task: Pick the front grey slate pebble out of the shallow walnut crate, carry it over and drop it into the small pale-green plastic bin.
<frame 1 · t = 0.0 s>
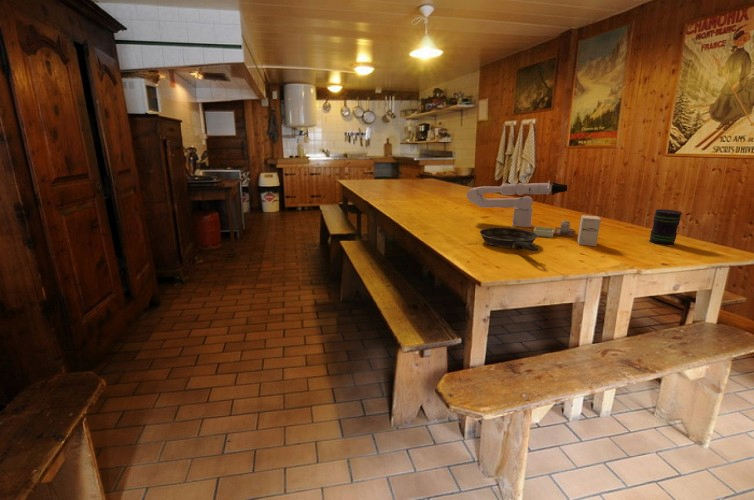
hand: (567, 188, 205), 22 cm above the table, tool horizontal, fingers open, 7 cm apart
storage jar: (661, 243, 186), on the table
bin: (543, 234, 199), on the table
frying pan: (512, 248, 176), on the table
stone back: (564, 230, 207), resting on crate
stone front: (564, 233, 200), resting on crate
supplement box: (586, 244, 183), on the table
stone mid: (564, 231, 204), resting on crate
crate: (564, 232, 204), on the table
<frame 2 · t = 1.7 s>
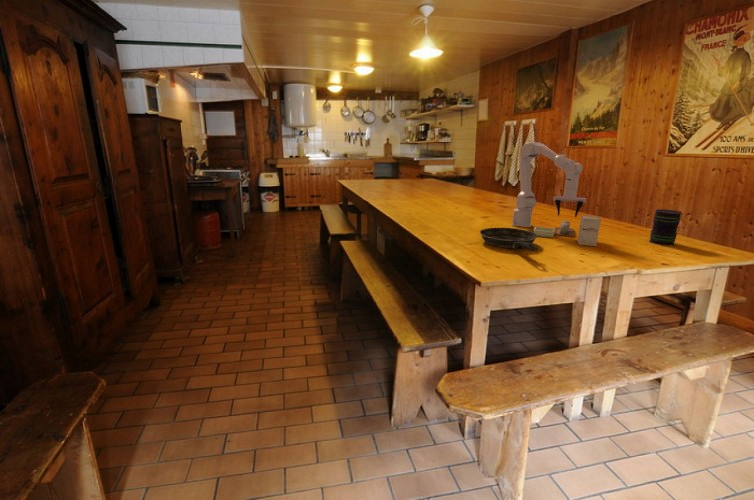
hand: (566, 215, 197), 10 cm above the table, tool pointing down, fingers open, 7 cm apart
nothing on the table moved.
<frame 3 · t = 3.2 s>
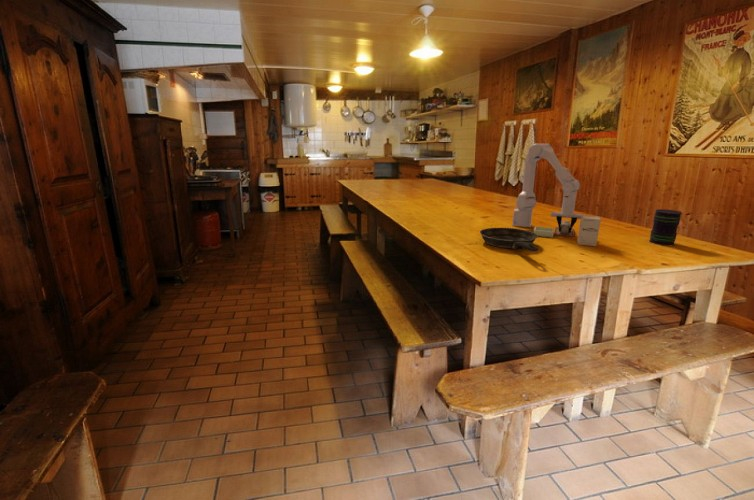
hand: (564, 231, 199), 1 cm above the table, tool pointing down, fingers closed on stone front, 4 cm apart
stone front: (564, 233, 200), resting on crate, touching gripper
everything else where it was.
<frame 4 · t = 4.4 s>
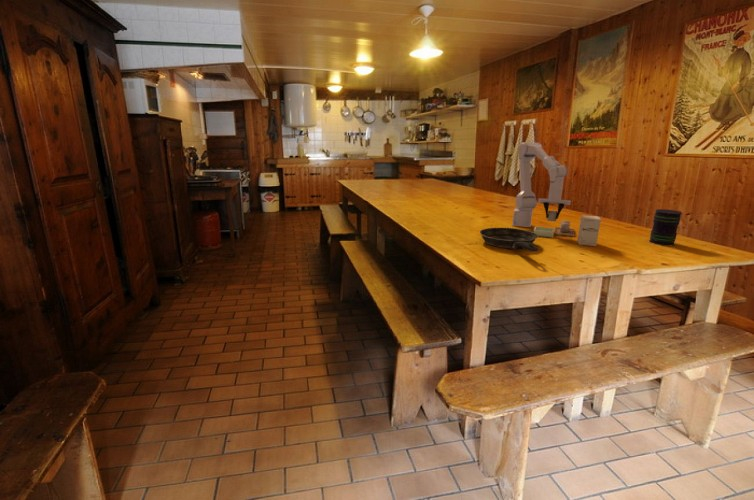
hand: (551, 218, 197), 8 cm above the table, tool pointing down, fingers closed on stone front, 4 cm apart
stone front: (551, 220, 197), point 7 cm above the table, touching gripper
everything else where it was.
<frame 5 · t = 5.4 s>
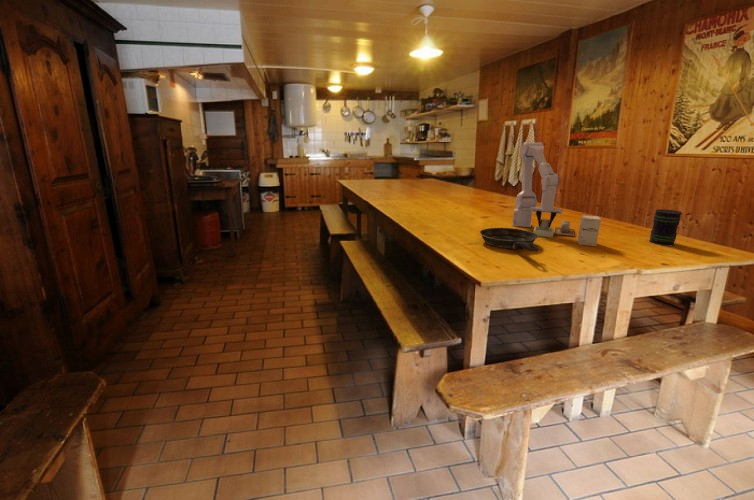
hand: (544, 226, 198), 4 cm above the table, tool pointing down, fingers closed on stone front, 4 cm apart
stone front: (544, 228, 198), point 3 cm above the table, touching gripper
everything else where it was.
when the fingers open (3 cm above the table, at t = 5.9 s): stone front drops 2 cm, resting on bin.
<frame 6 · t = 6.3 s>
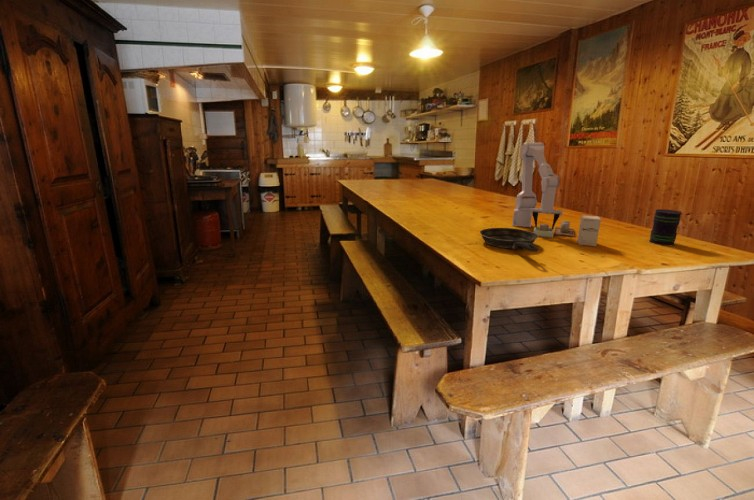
hand: (544, 228, 198), 3 cm above the table, tool pointing down, fingers open, 7 cm apart
stone front: (543, 233, 199), resting on bin
everything else where it was.
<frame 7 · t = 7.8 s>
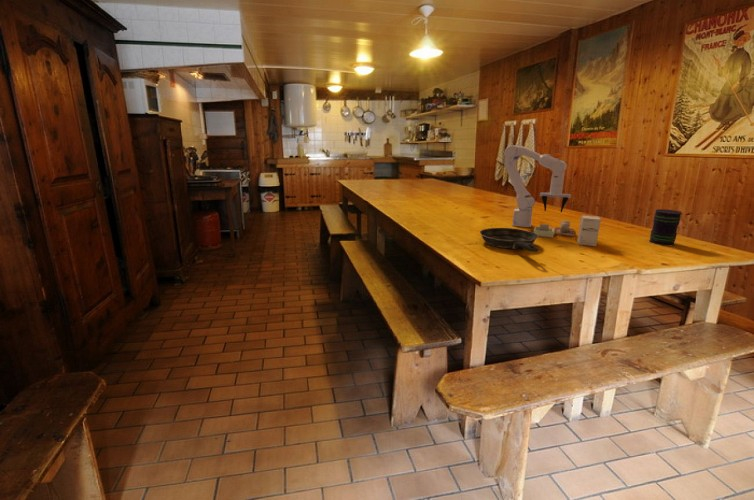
hand: (553, 211, 207), 10 cm above the table, tool pointing down, fingers open, 7 cm apart
nothing on the table moved.
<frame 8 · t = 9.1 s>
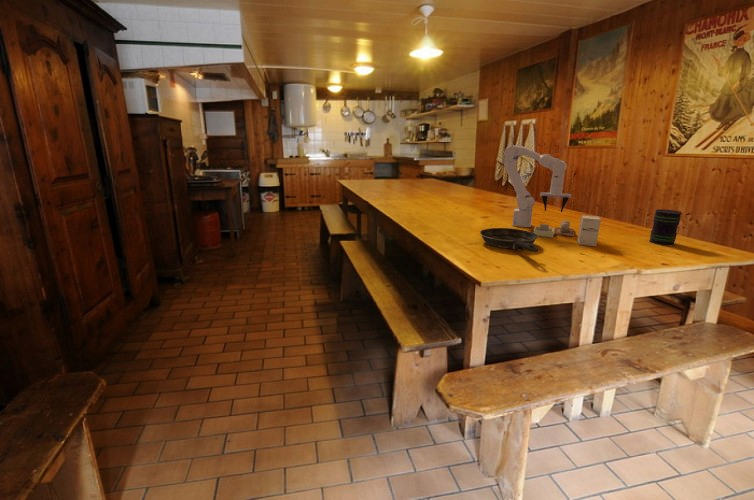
hand: (553, 211, 207), 10 cm above the table, tool pointing down, fingers open, 7 cm apart
nothing on the table moved.
at the end: stone front 0.0 cm off-centre on the bin, point 0.5 cm above the bin's base; the gripper is holding nothing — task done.
